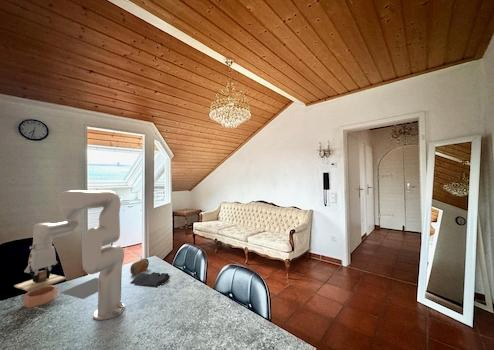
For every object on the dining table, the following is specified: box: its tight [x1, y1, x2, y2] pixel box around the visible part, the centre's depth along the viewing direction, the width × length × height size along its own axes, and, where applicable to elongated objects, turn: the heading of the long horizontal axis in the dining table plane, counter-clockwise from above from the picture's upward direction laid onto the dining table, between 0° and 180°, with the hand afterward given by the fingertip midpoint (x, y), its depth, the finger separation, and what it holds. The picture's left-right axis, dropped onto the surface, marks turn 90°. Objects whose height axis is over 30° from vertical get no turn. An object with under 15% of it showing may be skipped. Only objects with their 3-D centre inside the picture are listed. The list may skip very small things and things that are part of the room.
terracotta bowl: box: [22, 284, 58, 308], centre depth 112 cm, size 12×12×5 cm
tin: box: [129, 258, 150, 276], centre depth 147 cm, size 15×3×8 cm, turn 164°
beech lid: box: [13, 269, 67, 292], centre depth 112 cm, size 15×15×6 cm
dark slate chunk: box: [129, 271, 171, 288], centre depth 134 cm, size 15×22×5 cm
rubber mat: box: [59, 277, 99, 300], centre depth 125 cm, size 20×20×1 cm
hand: (41, 279), depth 112 cm, fingers closed on beech lid, 4 cm apart
